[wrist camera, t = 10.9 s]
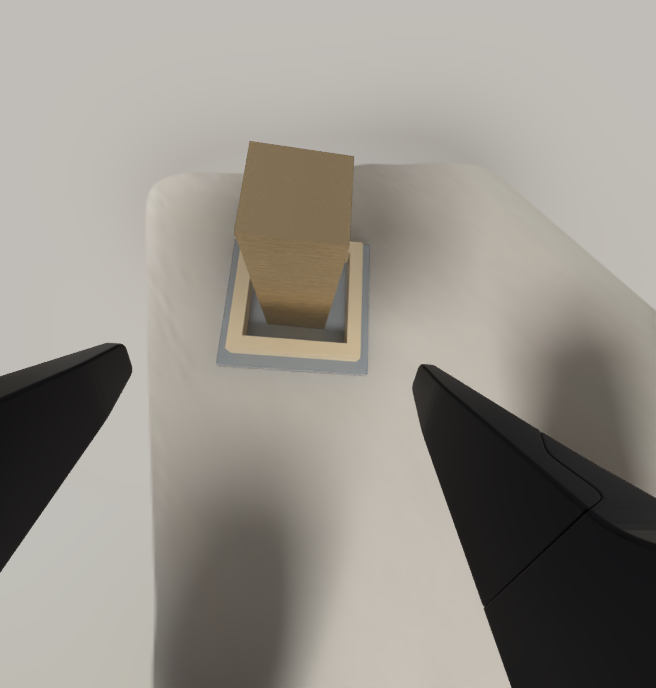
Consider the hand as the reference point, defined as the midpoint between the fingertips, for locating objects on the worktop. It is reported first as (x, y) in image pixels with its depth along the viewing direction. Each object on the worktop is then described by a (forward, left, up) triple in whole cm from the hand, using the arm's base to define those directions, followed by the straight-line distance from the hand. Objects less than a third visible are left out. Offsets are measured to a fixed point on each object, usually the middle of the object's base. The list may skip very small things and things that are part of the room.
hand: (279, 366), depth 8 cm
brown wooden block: (+6, -4, -12) cm, 14 cm away
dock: (+6, -5, -13) cm, 15 cm away
